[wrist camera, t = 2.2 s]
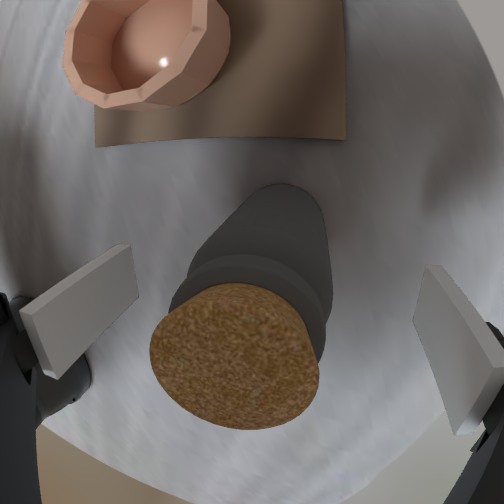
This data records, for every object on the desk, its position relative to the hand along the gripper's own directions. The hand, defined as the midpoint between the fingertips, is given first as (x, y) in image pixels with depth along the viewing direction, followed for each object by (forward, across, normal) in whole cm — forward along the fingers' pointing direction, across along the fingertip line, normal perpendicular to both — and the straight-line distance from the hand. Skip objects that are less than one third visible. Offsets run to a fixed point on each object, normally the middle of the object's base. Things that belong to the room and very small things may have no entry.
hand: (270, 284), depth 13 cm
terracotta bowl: (+8, -8, +13) cm, 17 cm away
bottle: (+9, 0, 0) cm, 9 cm away
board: (+9, -6, +12) cm, 16 cm away
